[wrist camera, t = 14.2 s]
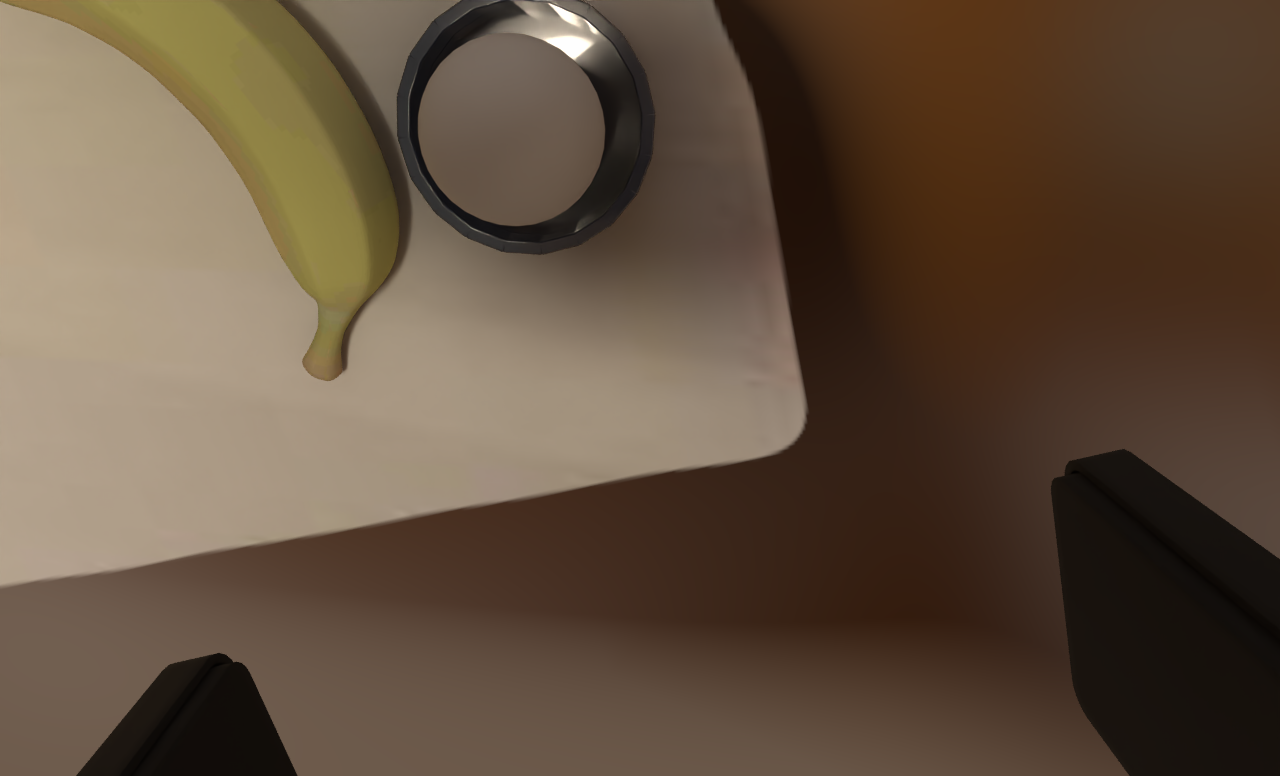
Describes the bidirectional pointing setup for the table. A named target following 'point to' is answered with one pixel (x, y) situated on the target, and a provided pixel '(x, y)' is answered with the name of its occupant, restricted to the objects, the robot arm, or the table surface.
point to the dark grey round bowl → (555, 14)
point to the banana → (271, 137)
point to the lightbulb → (511, 129)
